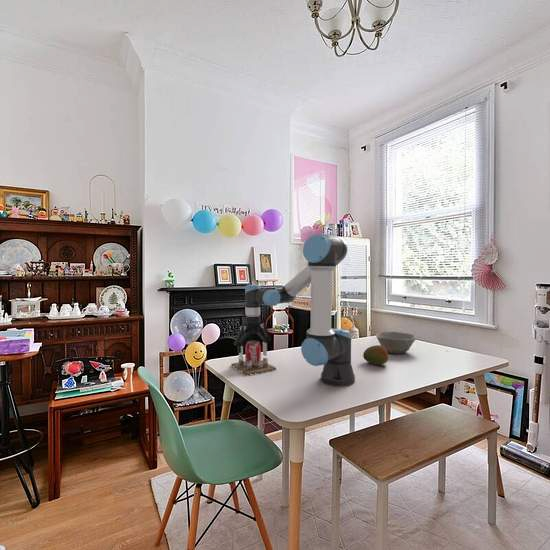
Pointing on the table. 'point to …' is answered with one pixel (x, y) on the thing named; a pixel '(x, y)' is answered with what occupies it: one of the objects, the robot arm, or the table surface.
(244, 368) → the peg board
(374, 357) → the fruit
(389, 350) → the ceramic bowl
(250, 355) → the beverage can
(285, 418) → the table surface
